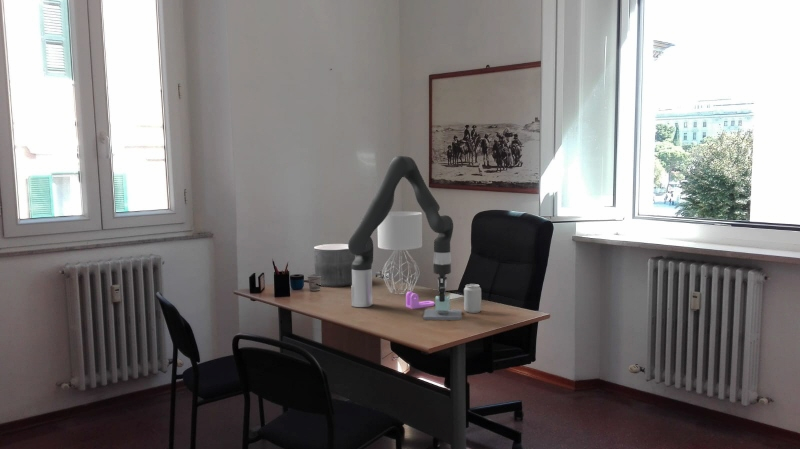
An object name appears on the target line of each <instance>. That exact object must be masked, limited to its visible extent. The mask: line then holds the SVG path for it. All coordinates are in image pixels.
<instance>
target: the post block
mask: <svg viewBox="0 0 800 449" xmlns="http://www.w3.org/2000/svg"><path fill="white" fill-rule="evenodd" d="M422 316H423V317H422V320H426V321H427V320H428V321H430V320H433V321H434V320H435V321H436V320H437V321H462V309H461V308H460V309H459V308H450V310H449V311H435V308H425V309H424V312H423V315H422Z"/></svg>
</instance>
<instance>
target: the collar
mask: <svg viewBox="0 0 800 449" xmlns="http://www.w3.org/2000/svg"><path fill="white" fill-rule="evenodd" d="M450 300H451V298H450V295H445V301H444V302H440V301H439V295H436V296H435V300H434V301H435V302H434V306H435V308H434V309H435V311H449V310H450V309H451V307H450V306H451V301H450Z"/></svg>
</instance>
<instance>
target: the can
mask: <svg viewBox="0 0 800 449" xmlns="http://www.w3.org/2000/svg"><path fill="white" fill-rule="evenodd" d="M463 308H464V309H463V310H464V311H465V312H466V313H468V314H478V313H480V311H482V288H481V287H480V285H479V284H476V283H469V284H466V285H465V287H464V288H463Z"/></svg>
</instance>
